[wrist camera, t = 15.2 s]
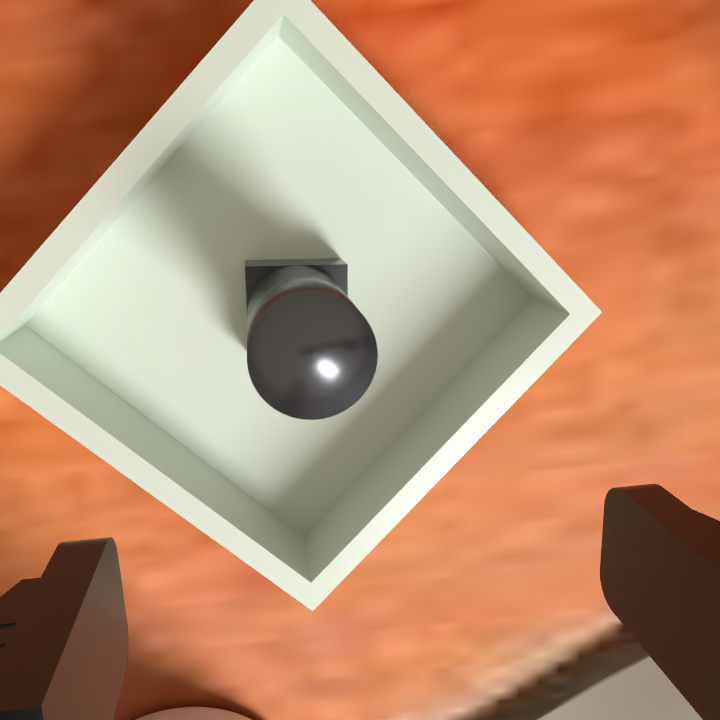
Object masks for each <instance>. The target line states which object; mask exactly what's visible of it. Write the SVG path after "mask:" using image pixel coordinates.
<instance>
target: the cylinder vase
mask: <svg viewBox="0 0 720 720" xmlns="http://www.w3.org/2000/svg"><path fill="white" fill-rule="evenodd" d="M136 720H252V719H250V718H248V717H245V716H243V715H240V714H238V713H235V712H231V711H227V710H223V709H217V708H210V707H181V708H173V709H167V710H162V711H158V712H155V713H151V714H148V715H146V716H143V717H140V718H138V719H136Z"/></svg>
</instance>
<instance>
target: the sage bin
mask: <svg viewBox="0 0 720 720" xmlns="http://www.w3.org/2000/svg"><path fill="white" fill-rule="evenodd" d="M327 258H341V259H342V260H343V261H344V262H346V263H347V264H348V298H349V299H350V300H351V301H352V302H353V304H354V305H355V306H356V307H357V308H358V310H359V311H360V312H361V313H362V314H363V316H364V317H365V318H366V320H367V321H368V323H369V324H370V326H371V328H372V330H373V333H374V335H375V338H376V343H377V350H378V360H377V367H376V372H375V375H374V377H373V380H372V382H371V384H370V386H369V388H368V389H367V391H366V392H365V394H364V395H363V396H362V397H361V398H360V399H359V400H358V401H357V402H356V403H355V404H354V405H353V406H351V407H350V408H348V409H347V410H345V411H343V412H341V413H340V414H337V415H335V416H332V417H328V418H324V419H317V420H304V419H297V418H293V417H290V416H287V415H285V414H282V413H280V412H279V411H277V410H275V409H274V408H272V407H271V406H270V405H268V404H267V403H266V402H265V401H264V400H263V399H262V398H261V396H260V395H259V394H258V392H257V391H256V389H255V387H254V386H253V383H252V381H251V379H250V376H249V372H248V366H247V304H246V282H245V260H274V259H327ZM601 313H602V312H601V311H600V310H599V308H598V307H597V306H596V305H595V304H594V303H593V302H592V301H591V300H590V299H589V298H588V297H587V296H586V295H585V293H584V292H583V291H582V290H581V289H580V288H579V287H578V286H577V285H576V284H575V283H574V282H573V281H572V280H571V278H570V277H569V276H568V275H567V274H566V273H565V272H564V271H563V270H562V269H561V268H560V267H559V266H558V265H557V264H556V262H555V261H554V260H553V259H552V258H551V257H550V256H549V255H548V254H547V253H546V252H545V251H544V250H543V249H542V247H541V246H540V245H539V244H538V243H537V242H536V241H535V240H534V239H533V238H532V237H531V236H530V235H529V234H528V232H527V231H526V230H525V229H524V228H523V227H522V226H521V225H520V224H519V223H518V222H517V221H516V220H515V219H514V218H513V216H512V215H511V214H510V213H509V212H508V211H507V210H506V209H505V208H504V207H503V206H502V205H501V204H500V203H499V201H498V200H497V199H496V198H495V197H494V196H493V195H492V194H491V193H490V192H489V191H488V190H487V189H486V188H485V186H484V185H483V184H482V183H481V182H480V181H479V180H478V179H477V178H476V177H475V176H474V175H473V174H472V173H471V172H470V170H469V169H468V168H467V167H466V166H465V165H464V164H463V163H462V162H461V161H460V160H459V159H458V158H457V157H456V155H455V154H454V153H453V152H452V151H451V150H450V149H449V148H448V147H447V146H446V145H445V144H444V143H443V142H442V140H441V139H440V138H439V137H438V136H437V135H436V134H435V133H434V132H433V131H432V130H431V129H430V128H429V127H428V126H427V124H426V123H425V122H424V121H423V120H422V119H421V118H420V117H419V116H418V115H417V114H416V113H415V112H414V111H413V109H412V108H411V107H410V106H409V105H408V104H407V103H406V102H405V101H404V100H403V99H402V98H401V97H400V96H399V94H398V93H397V92H396V91H395V90H394V89H393V88H392V87H391V86H390V85H389V84H388V83H387V82H386V81H385V80H384V78H383V77H382V76H381V75H380V74H379V73H378V72H377V71H376V70H375V69H374V68H373V67H372V66H371V65H370V63H369V62H368V61H367V60H366V59H365V58H364V57H363V56H362V55H361V54H360V53H359V52H358V51H357V50H356V48H355V47H354V46H353V45H352V44H351V43H350V42H349V41H348V40H347V39H346V38H345V37H344V36H343V35H342V34H341V32H340V31H339V30H338V29H337V28H336V27H335V26H334V25H333V24H332V23H331V22H330V21H329V20H328V19H327V17H326V16H325V15H324V14H323V13H322V12H321V11H320V10H319V9H318V8H317V7H316V6H315V5H314V4H313V2H312V1H311V0H254V1H253V2H252V3H251V4H250V5H249V7H248V8H247V9H246V10H245V11H244V12H243V13H242V15H241V16H240V17H239V18H238V19H237V20H236V22H235V23H234V24H233V25H232V26H231V27H230V28H229V30H228V31H227V32H226V33H225V34H224V35H223V37H222V38H221V39H220V40H219V41H218V42H217V43H216V45H215V46H214V47H213V48H212V49H211V50H210V52H209V53H208V54H207V55H206V56H205V57H204V58H203V60H202V61H201V62H200V63H199V64H198V65H197V67H196V68H195V69H194V70H193V71H192V72H191V73H190V75H189V76H188V77H187V78H186V79H185V80H184V82H183V83H182V84H181V85H180V86H179V87H178V88H177V90H176V91H175V92H174V93H173V94H172V95H171V97H170V98H169V99H168V100H167V101H166V102H165V103H164V105H163V106H162V107H161V108H160V109H159V110H158V112H157V113H156V114H155V115H154V116H153V117H152V118H151V120H150V121H149V122H148V123H147V124H146V125H145V127H144V128H143V129H142V130H141V131H140V132H139V133H138V135H137V136H136V137H135V138H134V139H133V140H132V142H131V143H130V144H129V145H128V146H127V147H126V148H125V150H124V151H123V152H122V153H121V154H120V155H119V157H118V158H117V159H116V160H115V161H114V162H113V163H112V165H111V166H110V167H109V168H108V169H107V170H106V172H105V173H104V174H103V175H102V176H101V177H100V178H99V180H98V181H97V182H96V183H95V184H94V185H93V187H92V188H91V189H90V190H89V191H88V192H87V193H86V195H85V196H84V197H83V198H82V199H81V200H80V202H79V203H78V204H77V205H76V206H75V207H74V208H73V210H72V211H71V212H70V213H69V214H68V215H67V217H66V218H65V219H64V220H63V221H62V222H61V223H60V225H59V226H58V227H57V228H56V229H55V230H54V232H53V233H52V234H51V235H50V236H49V237H48V239H47V240H46V241H45V242H44V243H43V244H42V245H41V247H40V248H39V249H38V250H37V251H36V252H35V254H34V255H33V256H32V257H31V258H30V259H29V260H28V262H27V263H26V264H25V265H24V266H23V267H22V269H21V270H20V271H19V272H18V273H17V274H16V275H15V277H14V278H13V279H12V280H11V281H10V282H9V284H8V285H7V286H6V287H5V288H4V289H3V290H2V292H1V293H0V385H1V386H2V387H3V388H5V389H6V390H7V391H9V392H10V393H12V394H13V395H14V396H16V397H17V398H18V399H20V400H21V401H23V402H24V403H25V404H27V405H28V406H30V407H31V408H32V409H34V410H35V411H36V412H38V413H39V414H41V415H42V416H43V417H45V418H46V419H48V420H49V421H50V422H52V423H53V424H54V425H56V426H57V427H59V428H60V429H61V430H63V431H64V432H66V433H67V434H68V435H70V436H71V437H72V438H74V439H75V440H77V441H78V442H79V443H81V444H82V445H83V446H85V447H86V448H88V449H89V450H90V451H92V452H93V453H95V454H96V455H97V456H99V457H100V458H101V459H103V460H104V461H106V462H107V463H108V464H110V465H111V466H113V467H114V468H115V469H117V470H118V471H119V472H121V473H122V474H124V475H125V476H126V477H128V478H129V479H131V480H132V481H133V482H135V483H136V484H137V485H139V486H140V487H142V488H143V489H144V490H146V491H147V492H149V493H150V494H151V495H153V496H154V497H155V498H157V499H158V500H160V501H161V502H162V503H164V504H165V505H166V506H168V507H169V508H171V509H172V510H173V511H175V512H176V513H178V514H179V515H180V516H182V517H183V518H184V519H186V520H187V521H189V522H190V523H191V524H193V525H194V526H196V527H197V528H198V529H200V530H201V531H202V532H204V533H205V534H207V535H208V536H209V537H211V538H212V539H214V540H215V541H216V542H218V543H219V544H220V545H222V546H223V547H225V548H226V549H227V550H229V551H230V552H231V553H233V554H234V555H236V556H237V557H238V558H240V559H241V560H243V561H244V562H245V563H247V564H248V565H249V566H251V567H252V568H254V569H255V570H256V571H258V572H259V573H261V574H262V575H263V576H265V577H266V578H267V579H269V580H270V581H272V582H273V583H274V584H276V585H277V586H279V587H280V588H281V589H283V590H284V591H285V592H287V593H288V594H290V595H291V596H292V597H294V598H295V599H296V600H298V601H299V602H301V603H302V604H303V605H305V606H306V607H308V608H309V609H310V610H312V611H313V610H314V609H315V608H316V607H317V606H318V605H319V604H320V603H321V602H322V601H323V600H324V599H325V598H326V597H327V596H328V595H329V594H330V593H331V591H332V590H333V589H334V588H335V587H336V586H337V585H338V584H339V583H340V582H341V581H342V580H343V579H344V578H345V577H346V576H347V575H348V574H349V573H350V572H351V571H352V570H353V569H354V568H355V567H356V566H357V565H358V564H359V563H360V562H361V560H362V559H363V558H364V557H365V556H366V555H367V554H368V553H369V552H370V551H371V550H372V549H373V548H374V547H375V546H376V545H377V544H378V543H379V542H380V541H381V540H382V539H383V538H384V537H385V536H386V535H387V534H388V533H389V532H390V531H391V530H392V528H393V527H394V526H395V525H396V524H397V523H398V522H399V521H400V520H401V519H402V518H403V517H404V516H405V515H406V514H407V513H408V512H409V511H410V510H411V509H412V508H413V507H414V506H415V505H416V504H417V503H418V502H419V501H420V500H421V499H422V498H423V496H424V495H425V494H426V493H427V492H428V491H429V490H430V489H431V488H432V487H433V486H434V485H435V484H436V483H437V482H438V481H439V480H440V479H441V478H442V477H443V476H444V475H445V474H446V473H447V472H448V471H449V470H450V469H451V468H452V467H453V466H454V464H455V463H456V462H457V461H458V460H459V459H460V458H461V457H462V456H463V455H464V454H465V453H466V452H467V451H468V450H469V449H470V448H471V447H472V446H473V445H474V444H475V443H476V442H477V441H478V440H479V439H480V438H481V437H482V436H483V435H484V434H485V432H486V431H487V430H488V429H489V428H490V427H491V426H492V425H493V424H494V423H495V422H496V421H497V420H498V419H499V418H500V417H501V416H502V415H503V414H504V413H505V412H506V411H507V410H508V409H509V408H510V407H511V406H512V405H513V404H514V403H515V401H516V400H517V399H518V398H519V397H520V396H521V395H522V394H523V393H524V392H525V391H526V390H527V389H528V388H529V387H530V386H531V385H532V384H533V383H534V382H535V381H536V380H537V379H538V378H539V377H540V376H541V375H542V374H543V373H544V372H545V371H546V369H547V368H548V367H549V366H550V365H551V364H552V363H553V362H554V361H555V360H556V359H557V358H558V357H559V356H560V355H561V354H562V353H563V352H564V351H565V350H566V349H567V348H568V347H569V346H570V345H571V344H572V343H573V342H574V341H575V340H576V339H577V337H578V336H579V335H580V334H581V333H582V332H583V331H584V330H585V329H586V328H587V327H588V326H589V325H590V324H591V323H592V322H593V321H594V320H595V319H596V318H597V317H598V316H599V315H600V314H601Z"/></svg>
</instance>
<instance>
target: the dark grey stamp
mask: <svg viewBox="0 0 720 720" xmlns="http://www.w3.org/2000/svg"><path fill="white" fill-rule="evenodd" d="M245 282H246V304H247V366H248V372H249V376H250V379H251V381H252V383H253V386H254V387H255V389H256V391H257V392H258V394H259V395H260V396H261V398H262V399H263V400H264V401H265V402H266V403H267V404H268V405H270V406H271V407H272V408H274V409H275V410H277V411H279V412H280V413H282V414H285V415H287V416H290V417H293V418H297V419H304V420H317V419H324V418H328V417H332V416H335V415H337V414H340V413H341V412H343V411H345V410H347V409H348V408H350V407H351V406H353V405H354V404H355V403H356V402H357V401H358V400H359V399H360V398H361V397H362V396H363V395H364V394H365V392H366V391H367V389H368V388H369V386H370V384H371V382H372V380H373V377H374V375H375V372H376V367H377V360H378V350H377V343H376V338H375V335H374V333H373V330H372V328H371V326H370V324H369V323H368V321H367V320H366V318H365V317H364V316H363V314H362V313H361V312H360V311H359V310H358V308H357V307H356V306H355V305H354V304H353V302H352V301H351V300H350V299H349V298H348V264H347V263H346V262H344V261H343V260H342V259H341V258H327V259H274V260H245Z"/></svg>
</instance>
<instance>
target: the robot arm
mask: <svg viewBox="0 0 720 720" xmlns="http://www.w3.org/2000/svg"><path fill="white" fill-rule="evenodd" d="M600 580H601V586H602V590H603V593H604V596H605V599H606V601H607V603H608V605H609V607H610V609H611V610H612V611H613V613H614V614H615V615H616V616H617V617H618V619H619V620H620V621H621V622H622V623H623V625H624V626H625V627H626V628H627V629H628V631H629V632H630V633H631V634H632V635H633V636H634V638H635V639H636V640H637V641H638V642H639V644H640V645H641V646H642V647H643V648H644V650H645V651H646V652H647V653H648V654H649V656H650V657H651V658H652V659H653V660H654V662H655V663H656V664H657V665H658V666H659V668H660V669H661V670H662V671H663V672H664V674H665V675H666V676H667V677H668V678H669V680H671V682H672V683H673V684H674V685H675V687H676V688H677V689H678V690H679V691H680V693H681V694H682V695H683V696H684V697H685V699H686V700H687V701H688V702H689V703H690V705H691V706H692V707H693V708H694V709H695V711H696V712H697V713H698V714H699V715H700V717H701V718H702V719H703V720H720V521H718V520H716V519H713V518H711V517H709V516H706V515H704V514H702V513H699V512H697V511H695V510H692V509H691V508H689V507H688V506H687V505H685V504H684V503H683V502H681V501H680V500H679V499H677V498H676V497H675V496H673V495H672V494H671V493H669V492H668V491H667V490H665V489H664V488H663V487H661V486H660V485H657V484H647V485H637V486H627V487H618V488H612V489H610V490H609V491H608V493H607V495H606V498H605V504H604V518H603V533H602V548H601V563H600ZM127 659H128V626H127V618H126V611H125V604H124V597H123V589H122V582H121V575H120V567H119V560H118V553H117V548H116V544H115V541H114V539H113V538H111V537H109V538H99V539H89V540H80V541H70V542H61V543H60V544H59V545H58V546H57V548H56V550H55V552H54V554H53V555H52V557H51V559H50V561H49V563H48V565H47V567H46V569H45V571H44V572H43V574H42V576H41V578H34V579H24V580H21V581H20V582H19V583H17V584H16V585H15V586H14V587H12V588H11V589H10V590H9V591H7V592H6V593H5V594H4V595H3V596H1V597H0V720H113V718H114V715H115V711H116V707H117V703H118V699H119V695H120V691H121V687H122V683H123V679H124V676H125V672H126V667H127Z"/></svg>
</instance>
